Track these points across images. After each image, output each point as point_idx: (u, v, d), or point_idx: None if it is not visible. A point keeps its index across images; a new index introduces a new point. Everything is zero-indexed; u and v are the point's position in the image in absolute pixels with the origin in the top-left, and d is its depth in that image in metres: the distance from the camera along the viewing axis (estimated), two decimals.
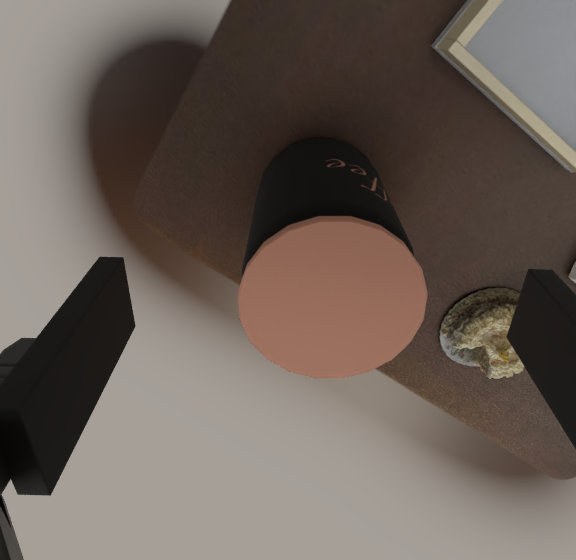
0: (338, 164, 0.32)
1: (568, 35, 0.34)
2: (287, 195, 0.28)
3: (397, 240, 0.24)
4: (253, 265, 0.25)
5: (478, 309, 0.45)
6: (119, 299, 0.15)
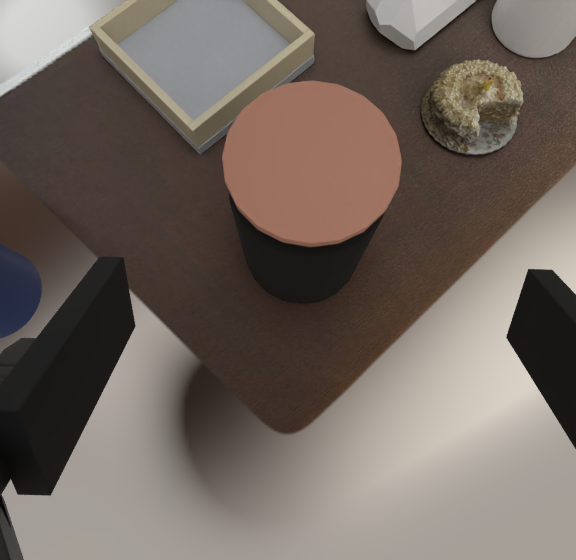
0: None
1: (212, 66, 0.49)
2: (234, 217, 0.32)
3: None
4: (252, 216, 0.27)
5: (436, 115, 0.46)
6: (119, 299, 0.15)
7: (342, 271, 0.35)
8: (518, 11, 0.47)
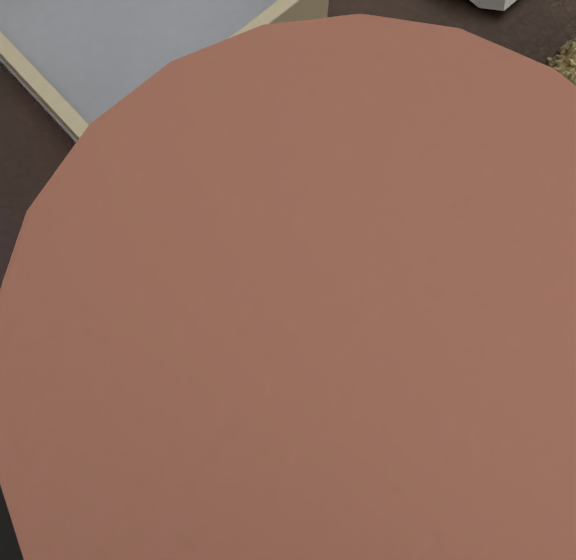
0: None
1: (149, 37, 0.28)
2: None
3: None
4: None
5: None
6: None
7: None
8: None
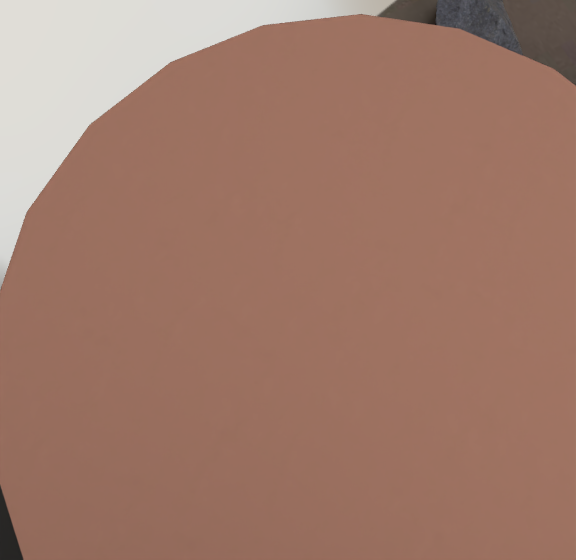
0: None
1: None
2: None
3: None
4: None
5: None
6: None
7: None
8: None
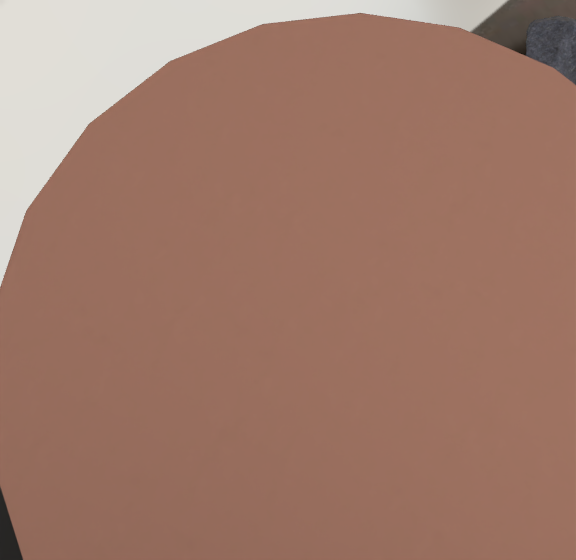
0: None
1: None
2: None
3: None
4: None
5: None
6: None
7: None
8: None
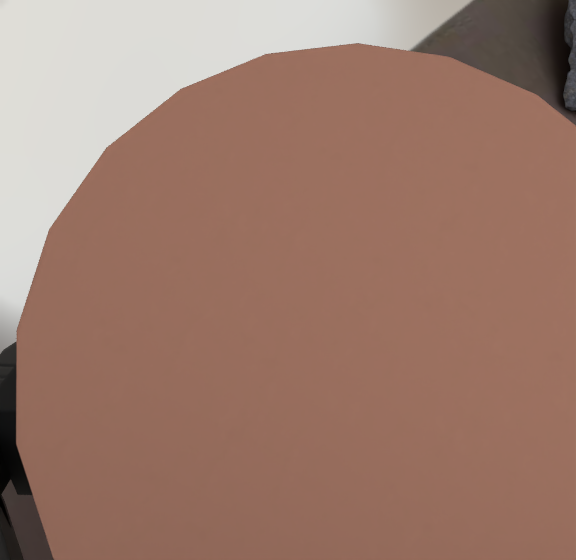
0: None
1: None
2: None
3: None
4: None
5: None
6: None
7: None
8: None
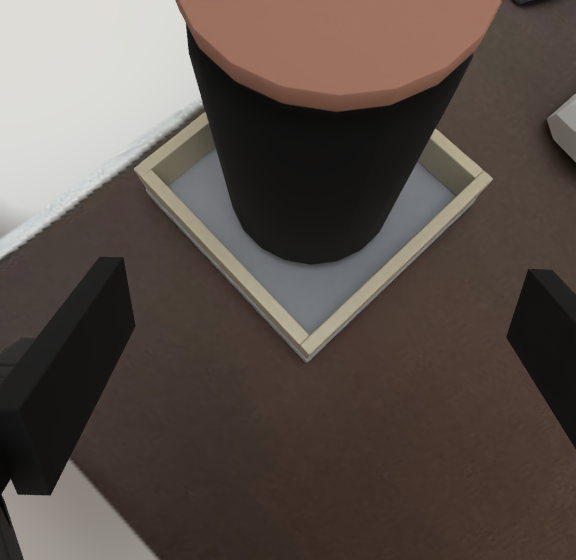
0: None
1: None
2: (202, 98, 0.19)
3: None
4: (223, 47, 0.14)
5: None
6: (119, 299, 0.15)
7: (379, 199, 0.22)
8: None
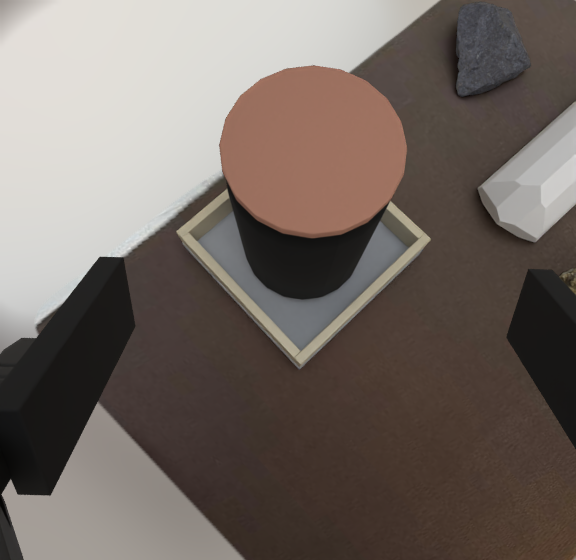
0: None
1: None
2: (233, 209, 0.31)
3: None
4: (251, 206, 0.26)
5: None
6: (119, 299, 0.15)
7: (345, 265, 0.34)
8: None
